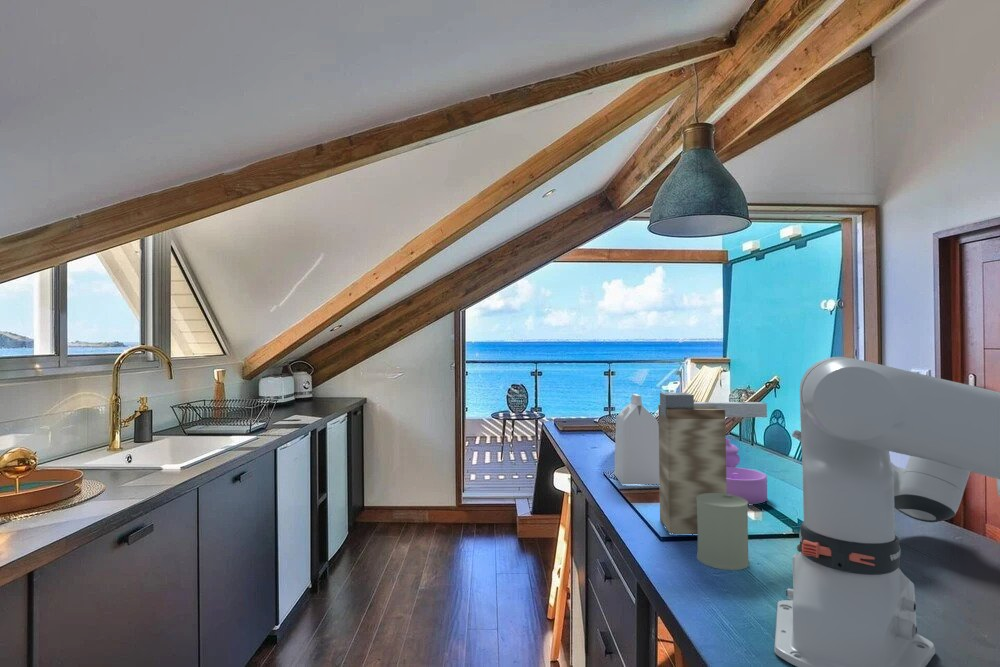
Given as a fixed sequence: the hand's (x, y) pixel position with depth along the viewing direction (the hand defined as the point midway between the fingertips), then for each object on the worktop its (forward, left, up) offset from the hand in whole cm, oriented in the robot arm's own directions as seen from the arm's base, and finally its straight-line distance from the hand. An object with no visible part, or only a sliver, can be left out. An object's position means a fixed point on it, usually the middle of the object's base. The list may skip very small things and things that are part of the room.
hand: (804, 436), depth 117 cm
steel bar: (-11, +16, +4) cm, 20 cm away
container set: (+22, +22, -21) cm, 38 cm away
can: (-28, +9, -21) cm, 36 cm away
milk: (+17, +48, -21) cm, 55 cm away
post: (-14, +20, -21) cm, 32 cm away
